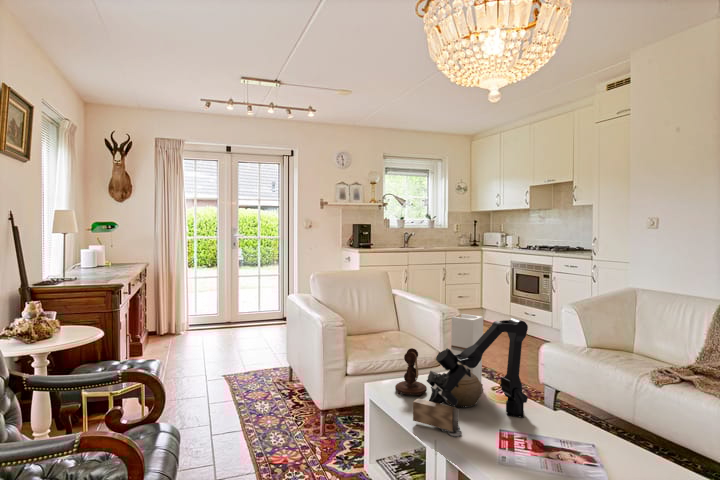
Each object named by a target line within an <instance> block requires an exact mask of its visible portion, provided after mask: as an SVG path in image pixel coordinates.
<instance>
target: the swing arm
mask: <svg viewBox="0 0 720 480" xmlns="http://www.w3.org/2000/svg"><path fill="white" fill-rule="evenodd" d="M412 421H414V422H417V423H420V424H424V425H428V426H431V427H435V428H439V429H440V428H442V429H446V430H450V431H452V430H454V431H458V426H459V409H458V408H457V407H455V406H451V405H449V404H448V405H447V404H443V403H441V404H439V403H435V402H431V401H429V400H427V399H422V398H416V399H415V400H413V402H412Z"/></svg>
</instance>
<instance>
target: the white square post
mask: <svg viewBox="0 0 720 480" xmlns="http://www.w3.org/2000/svg"><path fill="white" fill-rule="evenodd" d="M460 316H461V317H458V316H451V324H450V325H451V330H450V331H451V332H450V337H451V339H450V340H451V341H450V345H451V346H450V347H451V348H450V350H451V351H452V353H453V354H454V355H455V354H460V353H461V352H462V351H464V350H465V349H466V348H468V347H470V346H472V345H474V344H475V343H476V342H477V341H478V340H479V339H480V337H481V336H482V335H483V334H484V316H481V315H473V314H467V313H461V314H460ZM458 363H459V362H458ZM482 365H483V358H482V359H481V361H480V362H479V364H478V365H477V366H476V367H475V368H469V367H467V366H466V365H465V366H466V368H468V369H470V370H471V371H470V372H471V373H473V374H474V375H476V376H477V378H478V380H479V381H480V382H481V385H482V389H483V388H484V387H483V382H482V379H483V378H482V377H483V375H482V371H483V370H482V369H483V366H482Z"/></svg>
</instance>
